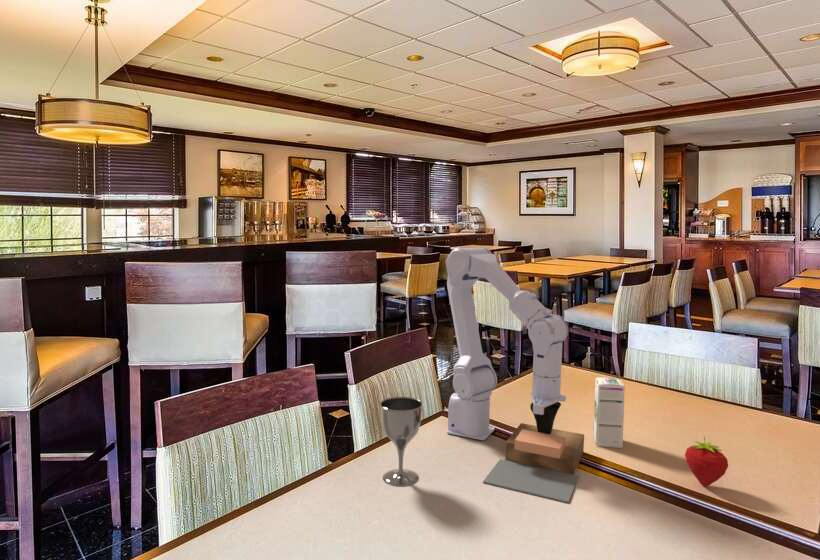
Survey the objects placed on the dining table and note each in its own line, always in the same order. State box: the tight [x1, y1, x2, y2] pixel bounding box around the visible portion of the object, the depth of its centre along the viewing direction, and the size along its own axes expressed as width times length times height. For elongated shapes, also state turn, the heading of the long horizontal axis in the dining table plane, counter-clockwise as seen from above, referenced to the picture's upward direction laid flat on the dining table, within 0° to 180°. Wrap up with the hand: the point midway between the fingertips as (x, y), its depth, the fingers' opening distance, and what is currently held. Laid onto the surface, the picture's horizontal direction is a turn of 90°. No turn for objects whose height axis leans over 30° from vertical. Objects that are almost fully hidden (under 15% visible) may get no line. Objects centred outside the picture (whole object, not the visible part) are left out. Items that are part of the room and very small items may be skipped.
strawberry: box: [684, 436, 729, 487], centre depth 101 cm, size 6×8×10 cm
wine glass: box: [380, 396, 423, 487], centre depth 103 cm, size 8×8×15 cm
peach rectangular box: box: [514, 429, 566, 459], centre depth 108 cm, size 9×6×2 cm, turn 64°
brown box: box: [504, 422, 585, 475], centre depth 113 cm, size 14×12×4 cm
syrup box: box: [593, 376, 626, 449], centre depth 120 cm, size 6×6×14 cm
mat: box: [482, 458, 579, 504], centre depth 103 cm, size 16×11×1 cm
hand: (544, 436), depth 112 cm, fingers closed
